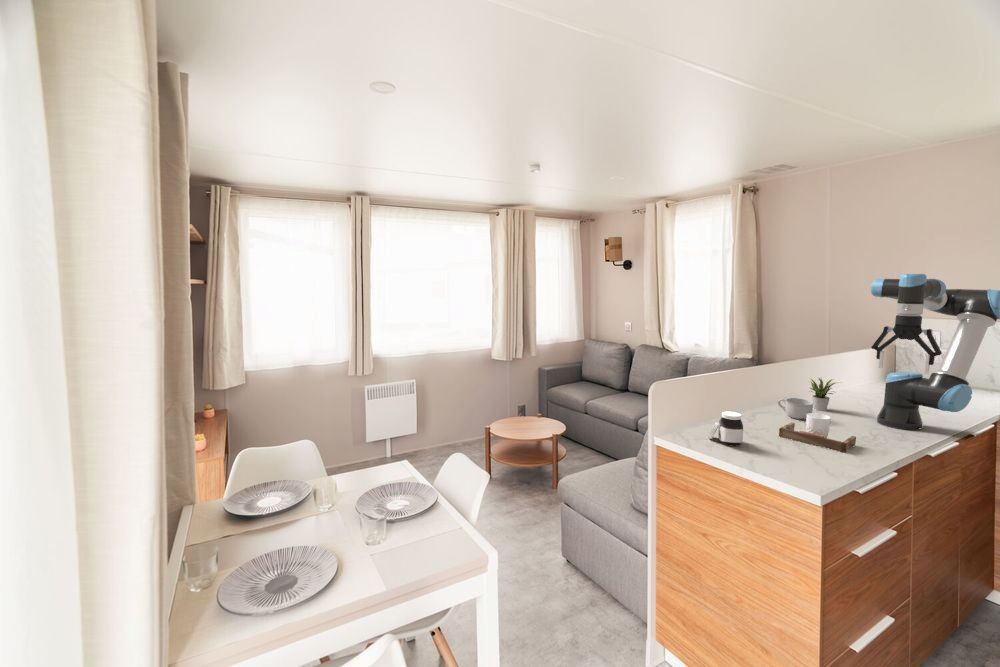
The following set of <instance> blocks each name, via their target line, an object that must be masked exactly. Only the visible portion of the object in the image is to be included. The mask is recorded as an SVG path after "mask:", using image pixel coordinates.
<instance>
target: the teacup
mask: <svg viewBox="0 0 1000 667" xmlns="http://www.w3.org/2000/svg"><path fill="white" fill-rule="evenodd" d="M781 401H782V402H784V405H785V407H784V406H783V405H782V404H781ZM777 405H778V406H779V407H780V408H781V409H782V410H783V411H784V412H785V413H786V415H788V416H789V417H790V418H791V417H792V419H794V418H796V419H795V420H800V419H804V420H806V415H807V414H808V413H813V410H814V409H813V400H809V399H805V398H802V397H801V398H800V397H788V398H786V399H785V398H780V399H778V400H777Z"/></svg>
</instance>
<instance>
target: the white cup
mask: <svg viewBox="0 0 1000 667" xmlns="http://www.w3.org/2000/svg"><path fill="white" fill-rule="evenodd" d="M805 420H806V421H805V422H806V423H805V430H806V431H805V432H809V433H813V434H817V435H822V436H824V438H828V437H829V432H830V427H831V426H830V424H831V416H829V415H826V414H822V413H816V412H812V413H808V414H807V415H806V419H805Z"/></svg>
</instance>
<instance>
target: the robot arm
mask: <svg viewBox="0 0 1000 667" xmlns="http://www.w3.org/2000/svg"><path fill="white" fill-rule="evenodd" d="M870 293H871V295H873V296H874V297H877V298H889V299H892V300H897V303H896V310H895V311H896V312H895V313H896V314H897V315H896V316H895V322H894V327H893V326H889V325H887V326H886V325H885V326H884V327H883V330H882V332H881V334H880V335H879V336H878V338H877V339H876V340H875V341H874V343H873V344H872V346H871V349H873V350H875V351H876V356H875V357H876V359H877V360H878V369H882V368H884V362H885V361H884V360H885V351H884V349H886V348H887V347H888V346H889V345H891V344H892V343H893V342H895V341H896V340H897V339H899V340H908V341H912V340H914V341H915V342H916V343H917V344H918V345H919V346H920V347H921V348H922V349H923V350H924V351H925V352H926V353H927V356H926V358H925V359H926V360H925V367H924V374H926V375H928V374H929V373H930V368H931V367H930V366H934V364H935V357H937V356H941V355H942V354H943V351H942V350H941V349H940V347H939V344H938V343H937V341H936V338H935V337H934V334H933V329H931V328H929V329H923V328H922V323H923V322H922V321H923V316H922V315H923V314H924V309H925V310H928V311H931V312H934V313H937V314H942V315H946V316H951V317H956V318H957V320H958V321H959V323H958V325H957V326H956V329H955V331H954V333H953V336H952V338H951V339H950V342H949V345H948V347H947V349H946V352H945V354H944V356H943V358H942V361H941V363H940V365H939V367H938V370H937V371H934V372H932V373H931V374H930V375H929V378H925V377H924V375H923V373H920V372H911V371H910V372H909V371H908V372H907V371H906V372H899V371H897V372H890V373H888V374H887V375H886V379H885V383H884V384H885V387H884V399H883V406H882V407H881V409H880V411H879V412H878V415H877V418H876V421H877V422H876V423H878V424H880V425H882V424H883V426H885V425H886V426H885V427H889V426H890V428H893V427H895V428H894V429H899V428H901V430H906V429H919V428H922V429H923V424H924V423H923V420H922V417H921V413H920V410H919V409H920V406H921V407H925V408H931V409H935V410H939V411H941V412H951V413H959V412H961V411H962V410H964V409H966V408H967V406H968V405H969V403H971V402H970V401H972V400H971V399H972V395H973V390H972V387H971V386H970V385H969V384H970V382H969V381H968V380H967V376H968V374H969V372H970V369H971V368H972V365H973V362H974V361H975V358H976V355H977V354H978V351H979V348H980V346H981V344H982V342H983V339H984V338H985V335H986V333H987V330H988V329H989V328H990V327H993V326H995V324H996V323H997V320H1000V290H999V289H990V288H989V289H969V288H968V289H967V288H966V289H965V288H963V289H962V288H953V289H952V288H949V289H947V286H946V284H945V282H944V281H942V280H940V279H938V278H927V274H926V273H904V274H901V275H900V276H899V278H886V277H885V278H877V279H874V280H873V281H872V282H871V285H870ZM891 331H893V333H894V335H893V336H892V337H891V338H889V339H888V340H887V341H885V342H883V340H884V339H885V338H886V337H887V335H888V334H889V333H890V332H891ZM922 333H923V334H924V336H926V337H927V340H928V342H929V343H930V345H931V347H932V349H933V350H932V349H931V347H930V346H929V345H928V344H926V342H925V341H924V340H923V339H922V337H921V336H920V335H921V334H922ZM882 342H883V344H882V345H881V343H882Z"/></svg>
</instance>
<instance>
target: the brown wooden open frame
mask: <svg viewBox="0 0 1000 667" xmlns="http://www.w3.org/2000/svg"><path fill="white" fill-rule="evenodd" d="M779 436H780V438H783V439H787V438H788V440H791V439H792V440H791V441H795V440H796V441H795V442H799V441H800V443H803V442H804V444H807V443H808V445H811V444H812V446H815V445H816V446H815V447H819V446H820V448H823V447H825V448H824V449H827V448H829V450H831V449H832V450H831V451H835V450H836V451H837V452H839V451H840V453H844V454H845V453H847V452H848V451H850V450H851V449H852V448H854V447H855V446H856V441H857V440H856V439H857V436H855V435H851V436H850V437H848V438H847V439H845V440H843V441H841V440H836V439H832V438H829V437H827V438H824V436H822V435H817V434H813V433H809V432H806V431H804V430H799V431H796V430H795V422H792V421H791V422H789V423H787V424H785V425H784V426H781V427H779V430H778V437H779ZM853 446H854V447H853ZM850 448H851V449H850ZM846 451H847V452H846Z"/></svg>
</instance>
